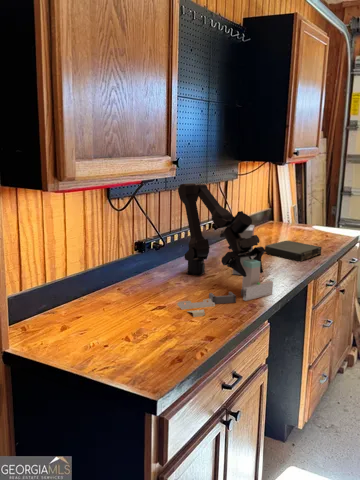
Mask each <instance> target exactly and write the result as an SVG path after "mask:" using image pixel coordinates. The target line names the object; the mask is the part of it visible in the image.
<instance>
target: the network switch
mask: <svg viewBox="0 0 360 480" xmlns="http://www.w3.org/2000/svg"><path fill="white" fill-rule="evenodd" d="M264 249H265V251H266V252H265V253H266V255H269V256H272V257H277V258H278V257H279V258H282V259H286V260H290V261H295V262H298V263H299V262H302V261H304V260H308V259H310V258H313V257H316V256H321V254H322V246H318V245H314V244H307V243H303V242H298V241H297V242H296V241H292V240H283V241H278V242H274V243H270V244H267V245H265V247H264Z"/></svg>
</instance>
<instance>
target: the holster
mask: <svg viewBox="0 0 360 480" xmlns="http://www.w3.org/2000/svg"><path fill="white" fill-rule="evenodd" d="M208 295H209V296H208V299H211V300H212V302H214V303H215V305H219V304H235V303H236V302H237V295H236V294H234V293H233V292H232V291H228V294H227V295H215V294H213V292H209V294H208Z"/></svg>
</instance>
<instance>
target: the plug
mask: <svg viewBox="0 0 360 480" xmlns="http://www.w3.org/2000/svg"><path fill="white" fill-rule="evenodd" d="M261 262H262V261H261ZM261 262H260V261H257V260H254V259H249V260H244V261H243V268H244V270H245V272H246V275H247V276H246V277H244V276H242V283H241V289H244V287H245V286H249V285H254V284H257V282H260V276H261V273H260V263H261Z"/></svg>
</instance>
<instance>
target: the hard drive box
mask: <svg viewBox="0 0 360 480" xmlns="http://www.w3.org/2000/svg"><path fill="white" fill-rule="evenodd" d="M254 234H255V224H251V225H250V226H249V227H248V228H247V229H246V230H245V231H244V232H243V233H240V235H241V237H242V238H246V239H247V238H251V236H253V235H254ZM253 249H254V246H252V249H251V250H249V252H250V251H252V250H253ZM249 259H250V258H249V257H246V258H240V261H241V264H242V266H243V261H244V260H249ZM232 275H237V276H242V275H241V274H240V273H238V272H237V271H235V270H234V269H232Z"/></svg>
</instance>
